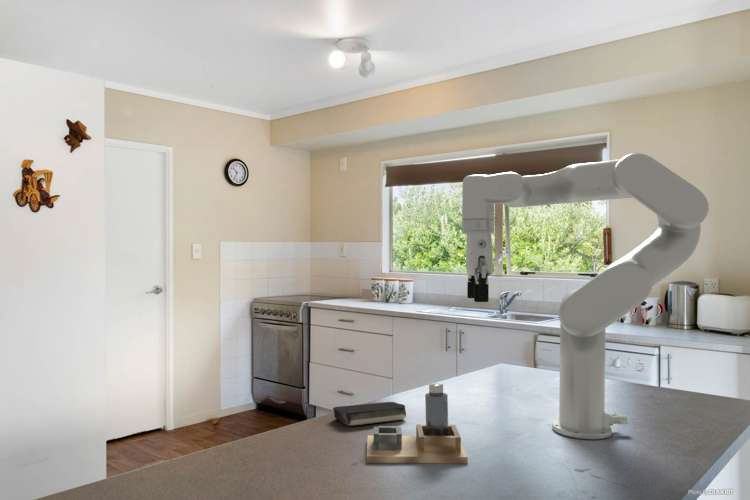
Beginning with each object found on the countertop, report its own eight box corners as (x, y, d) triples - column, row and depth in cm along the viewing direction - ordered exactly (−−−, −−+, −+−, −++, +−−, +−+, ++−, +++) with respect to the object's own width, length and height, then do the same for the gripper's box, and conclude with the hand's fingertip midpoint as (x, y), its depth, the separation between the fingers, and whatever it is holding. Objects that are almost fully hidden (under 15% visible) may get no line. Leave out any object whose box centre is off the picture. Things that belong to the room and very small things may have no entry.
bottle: (447, 441, 116) (446, 382, 116) (449, 448, 112) (448, 387, 112) (426, 441, 117) (424, 382, 117) (427, 449, 112) (425, 387, 112)
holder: (458, 441, 120) (458, 421, 120) (467, 463, 108) (467, 441, 108) (367, 441, 120) (367, 421, 120) (366, 462, 108) (366, 440, 108)
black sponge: (343, 430, 128) (343, 414, 128) (331, 419, 136) (331, 404, 136) (409, 422, 134) (409, 407, 134) (394, 412, 142) (394, 398, 142)
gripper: (501, 226, 127) (501, 303, 127) (487, 229, 144) (486, 297, 145) (468, 226, 127) (467, 303, 127) (457, 228, 145) (456, 296, 145)
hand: (477, 299), depth 136 cm, fingers open, 9 cm apart
